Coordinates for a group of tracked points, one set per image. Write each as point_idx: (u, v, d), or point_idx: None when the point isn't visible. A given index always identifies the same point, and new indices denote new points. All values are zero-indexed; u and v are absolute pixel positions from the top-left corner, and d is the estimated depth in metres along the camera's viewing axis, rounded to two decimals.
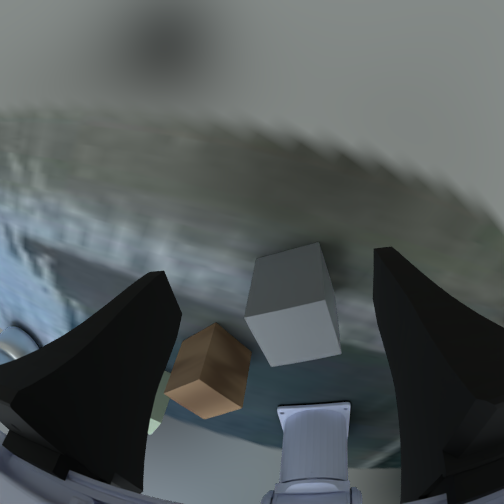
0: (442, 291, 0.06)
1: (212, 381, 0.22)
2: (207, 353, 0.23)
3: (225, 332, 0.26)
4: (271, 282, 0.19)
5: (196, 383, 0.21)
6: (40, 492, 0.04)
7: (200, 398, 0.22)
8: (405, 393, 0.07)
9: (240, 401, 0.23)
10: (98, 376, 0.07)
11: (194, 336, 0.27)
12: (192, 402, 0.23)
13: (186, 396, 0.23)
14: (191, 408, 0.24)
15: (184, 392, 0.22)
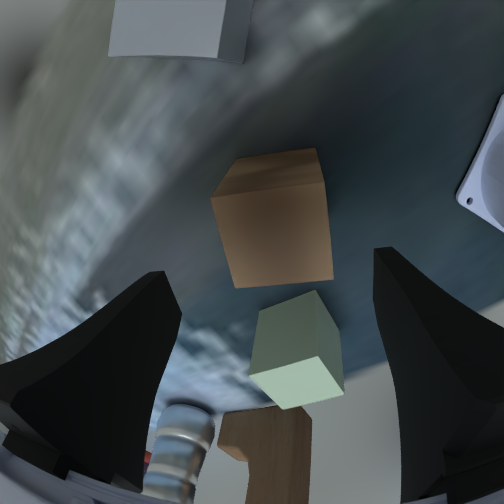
0: (442, 291, 0.06)
1: (241, 188, 0.13)
2: (224, 177, 0.15)
3: (256, 156, 0.17)
4: None
5: (220, 211, 0.13)
6: (40, 492, 0.04)
7: (265, 235, 0.13)
8: (405, 393, 0.07)
9: (316, 179, 0.12)
10: (98, 376, 0.07)
11: None
12: (273, 259, 0.14)
13: (252, 256, 0.14)
14: (291, 275, 0.14)
15: (240, 249, 0.14)
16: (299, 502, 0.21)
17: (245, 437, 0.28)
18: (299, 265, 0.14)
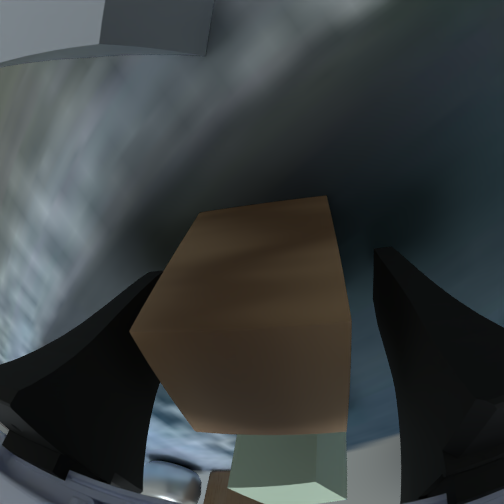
0: (442, 291, 0.06)
1: (186, 312, 0.07)
2: (168, 264, 0.08)
3: (230, 210, 0.11)
4: None
5: (151, 351, 0.07)
6: (40, 491, 0.04)
7: (233, 388, 0.07)
8: (405, 393, 0.07)
9: (333, 305, 0.06)
10: (98, 376, 0.07)
11: None
12: (250, 413, 0.07)
13: (216, 407, 0.07)
14: (280, 428, 0.08)
15: (194, 399, 0.07)
16: None
17: (233, 502, 0.21)
18: (293, 420, 0.07)
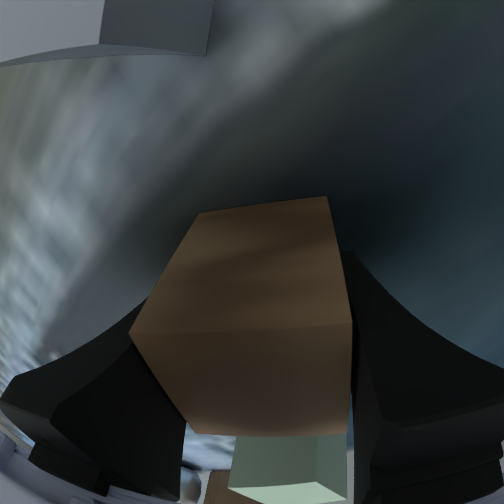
0: (391, 299, 0.06)
1: (186, 313, 0.06)
2: (167, 266, 0.08)
3: (230, 210, 0.11)
4: None
5: (150, 353, 0.06)
6: (40, 491, 0.04)
7: (233, 390, 0.07)
8: (355, 400, 0.07)
9: (334, 306, 0.06)
10: (139, 381, 0.07)
11: None
12: (250, 415, 0.07)
13: (216, 409, 0.07)
14: (280, 430, 0.08)
15: (194, 401, 0.07)
16: None
17: (233, 502, 0.21)
18: (293, 422, 0.07)
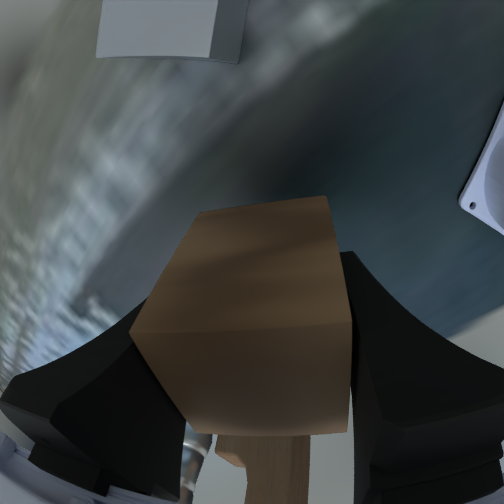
0: (391, 298, 0.06)
1: (186, 312, 0.06)
2: (167, 265, 0.08)
3: (230, 210, 0.11)
4: None
5: (151, 352, 0.07)
6: (40, 491, 0.04)
7: (233, 389, 0.07)
8: (355, 400, 0.07)
9: (333, 305, 0.06)
10: (139, 381, 0.07)
11: None
12: (251, 414, 0.07)
13: (216, 408, 0.07)
14: (280, 429, 0.08)
15: (194, 400, 0.07)
16: None
17: (243, 444, 0.27)
18: (293, 421, 0.07)
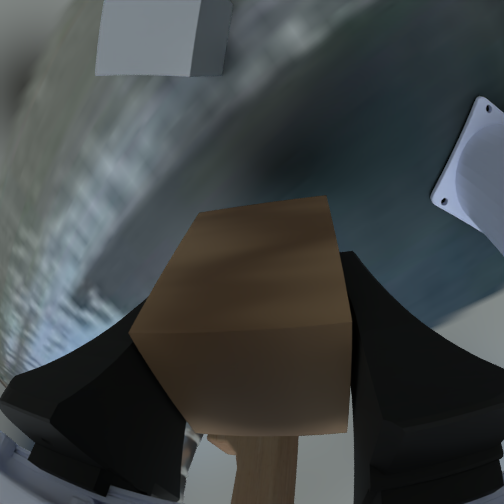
0: (391, 298, 0.06)
1: (186, 313, 0.06)
2: (167, 265, 0.08)
3: (229, 210, 0.11)
4: None
5: (150, 353, 0.07)
6: (40, 491, 0.04)
7: (233, 389, 0.07)
8: (355, 400, 0.07)
9: (333, 306, 0.06)
10: (139, 381, 0.07)
11: None
12: (250, 414, 0.07)
13: (216, 409, 0.07)
14: (280, 429, 0.08)
15: (194, 400, 0.07)
16: (285, 494, 0.22)
17: None
18: (293, 421, 0.07)
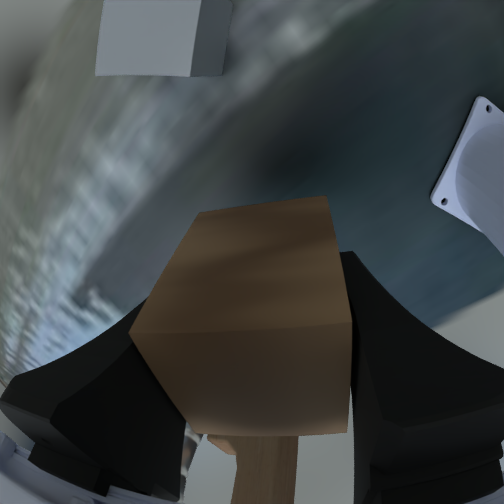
0: (391, 298, 0.06)
1: (186, 313, 0.06)
2: (167, 265, 0.08)
3: (229, 210, 0.11)
4: None
5: (150, 353, 0.07)
6: (40, 491, 0.04)
7: (233, 389, 0.07)
8: (355, 400, 0.07)
9: (333, 306, 0.06)
10: (139, 381, 0.07)
11: None
12: (250, 414, 0.07)
13: (216, 409, 0.07)
14: (280, 429, 0.08)
15: (194, 400, 0.07)
16: (285, 494, 0.22)
17: None
18: (293, 421, 0.07)
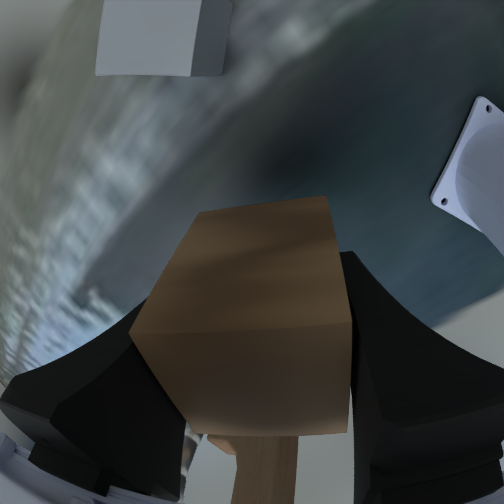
0: (391, 298, 0.06)
1: (186, 313, 0.06)
2: (167, 265, 0.08)
3: (229, 210, 0.11)
4: None
5: (150, 353, 0.07)
6: (40, 491, 0.04)
7: (233, 389, 0.07)
8: (355, 400, 0.07)
9: (333, 306, 0.06)
10: (139, 381, 0.07)
11: None
12: (250, 414, 0.07)
13: (216, 409, 0.07)
14: (280, 429, 0.08)
15: (194, 400, 0.07)
16: (285, 494, 0.22)
17: None
18: (293, 421, 0.07)
